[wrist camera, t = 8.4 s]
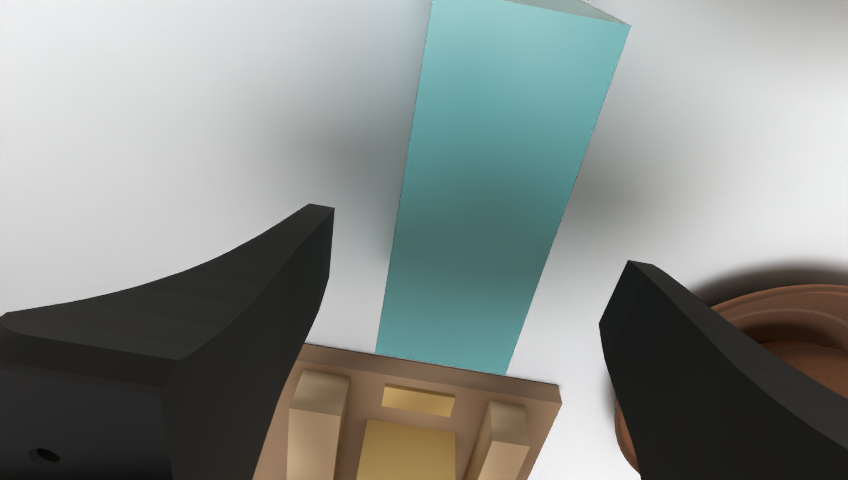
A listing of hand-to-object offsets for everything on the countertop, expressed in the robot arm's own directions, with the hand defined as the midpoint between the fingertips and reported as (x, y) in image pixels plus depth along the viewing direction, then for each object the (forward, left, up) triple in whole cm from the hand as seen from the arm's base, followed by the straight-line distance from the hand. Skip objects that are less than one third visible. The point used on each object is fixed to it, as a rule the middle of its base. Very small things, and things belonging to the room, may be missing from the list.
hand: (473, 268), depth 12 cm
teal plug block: (0, +1, -6) cm, 6 cm away
